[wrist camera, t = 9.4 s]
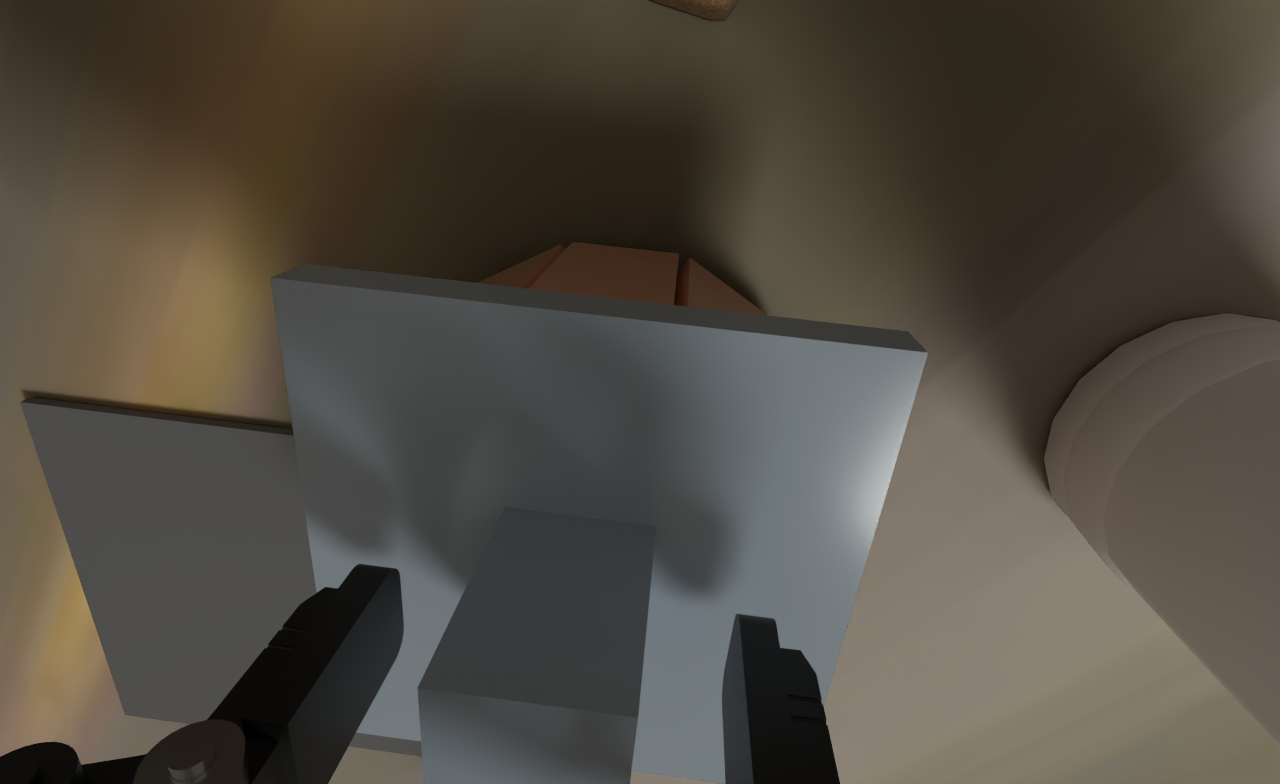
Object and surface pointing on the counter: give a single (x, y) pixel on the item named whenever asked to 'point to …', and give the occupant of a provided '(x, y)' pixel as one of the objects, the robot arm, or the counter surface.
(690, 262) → the bowl
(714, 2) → the candle holder
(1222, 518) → the bottle
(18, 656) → the counter surface
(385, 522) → the lid
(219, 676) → the mat
